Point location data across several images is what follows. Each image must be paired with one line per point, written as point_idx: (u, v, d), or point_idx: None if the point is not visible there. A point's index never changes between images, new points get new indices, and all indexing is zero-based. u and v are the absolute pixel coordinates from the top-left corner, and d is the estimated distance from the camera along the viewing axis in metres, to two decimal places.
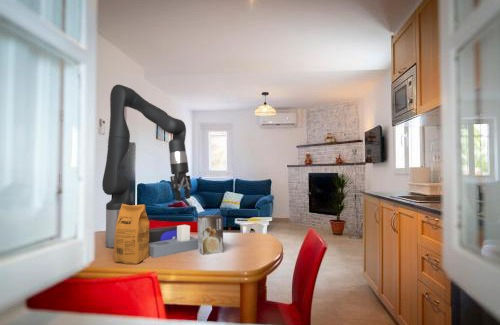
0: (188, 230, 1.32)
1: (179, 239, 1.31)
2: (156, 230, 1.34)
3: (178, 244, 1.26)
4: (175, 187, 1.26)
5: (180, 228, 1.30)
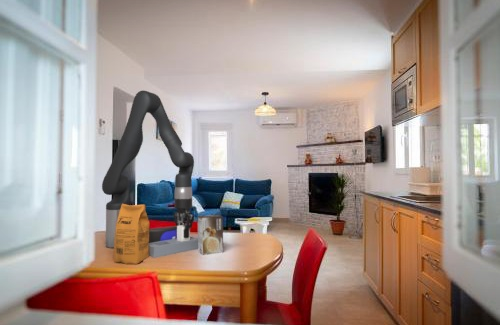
0: None
1: (179, 239, 1.31)
2: (156, 230, 1.34)
3: (178, 244, 1.26)
4: (191, 225, 1.29)
5: (180, 228, 1.30)
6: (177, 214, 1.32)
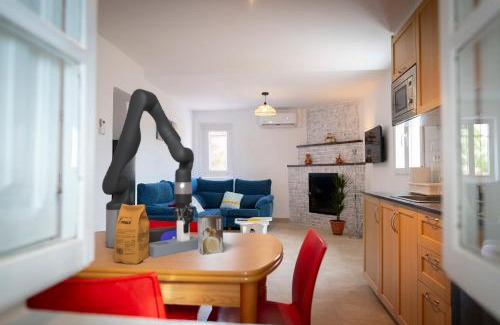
0: None
1: (178, 234, 1.31)
2: (156, 230, 1.34)
3: (178, 244, 1.26)
4: (190, 220, 1.29)
5: (180, 223, 1.31)
6: (177, 209, 1.33)
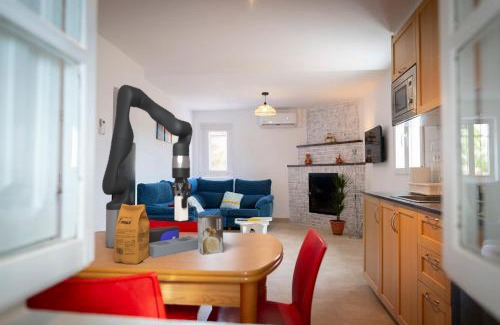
0: None
1: (176, 209, 1.27)
2: (156, 230, 1.34)
3: (178, 244, 1.26)
4: (189, 195, 1.25)
5: (178, 198, 1.27)
6: (175, 184, 1.29)
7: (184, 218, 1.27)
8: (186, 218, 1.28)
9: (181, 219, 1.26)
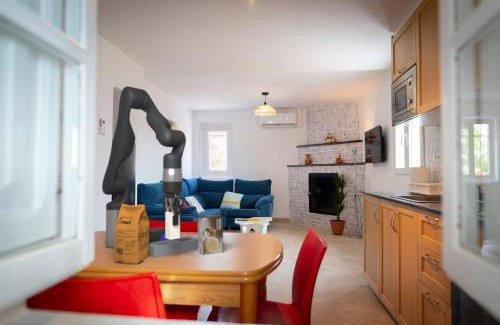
0: (178, 217, 1.18)
1: (167, 227, 1.17)
2: (156, 230, 1.34)
3: (178, 244, 1.26)
4: (180, 211, 1.15)
5: (169, 214, 1.16)
6: (165, 199, 1.18)
7: (175, 236, 1.17)
8: (178, 236, 1.17)
9: (172, 237, 1.16)
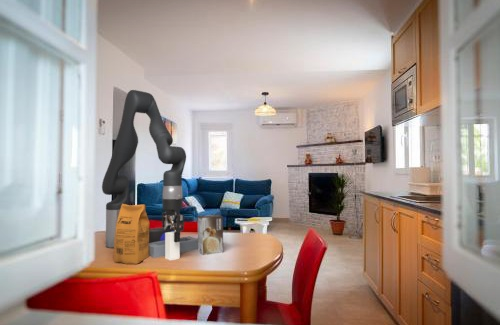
0: None
1: (167, 247, 1.17)
2: (156, 230, 1.34)
3: None
4: (182, 228, 1.14)
5: (168, 235, 1.16)
6: (165, 216, 1.18)
7: (175, 257, 1.16)
8: (177, 257, 1.17)
9: (172, 259, 1.15)
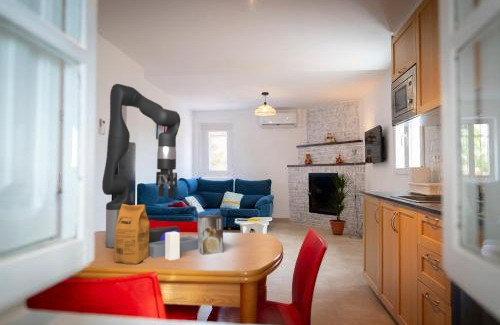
0: (178, 238, 1.17)
1: (167, 247, 1.17)
2: (156, 230, 1.34)
3: None
4: (176, 185, 1.21)
5: (168, 235, 1.16)
6: (160, 175, 1.25)
7: (175, 257, 1.16)
8: (177, 257, 1.17)
9: (172, 259, 1.15)
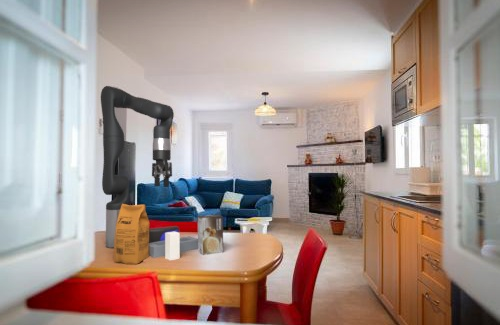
0: (178, 238, 1.17)
1: (167, 247, 1.17)
2: (156, 230, 1.34)
3: None
4: (171, 174, 1.27)
5: (168, 235, 1.16)
6: (155, 166, 1.32)
7: (175, 257, 1.16)
8: (177, 257, 1.17)
9: (172, 259, 1.15)
